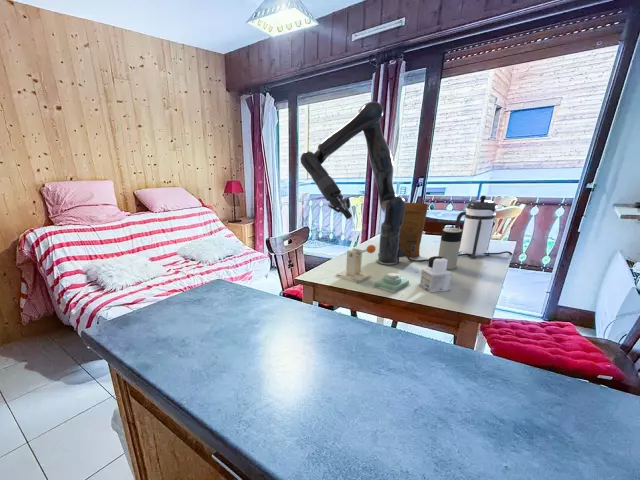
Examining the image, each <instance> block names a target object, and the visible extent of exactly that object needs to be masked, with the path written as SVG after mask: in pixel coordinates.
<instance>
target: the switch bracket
mask: <svg viewBox="0 0 640 480" xmlns="http://www.w3.org/2000/svg"><path fill="white" fill-rule="evenodd" d="M357 250H358V252H359V251H362V250H363V249H359V248H352V250H349V249H348V250H347V251H346V267H345V270H342V271H341V272H338V273H336V275H337V276H340V277H344V278H347V279H351V280H355V281H361V280H364V279H366V278H368V277H370V276H371V274H369V273H365V272H362V261H363V260H362V259H363V253H360V254H359V256H357V252H355V251H357Z"/></svg>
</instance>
